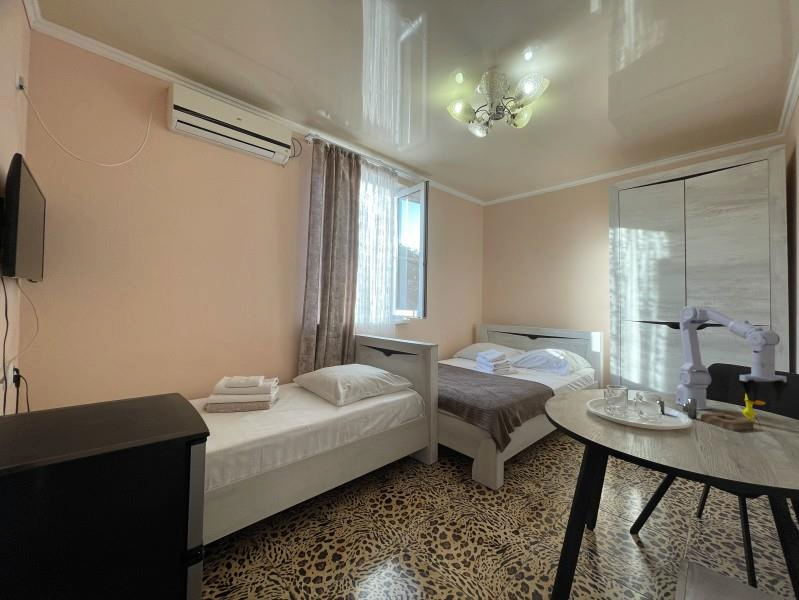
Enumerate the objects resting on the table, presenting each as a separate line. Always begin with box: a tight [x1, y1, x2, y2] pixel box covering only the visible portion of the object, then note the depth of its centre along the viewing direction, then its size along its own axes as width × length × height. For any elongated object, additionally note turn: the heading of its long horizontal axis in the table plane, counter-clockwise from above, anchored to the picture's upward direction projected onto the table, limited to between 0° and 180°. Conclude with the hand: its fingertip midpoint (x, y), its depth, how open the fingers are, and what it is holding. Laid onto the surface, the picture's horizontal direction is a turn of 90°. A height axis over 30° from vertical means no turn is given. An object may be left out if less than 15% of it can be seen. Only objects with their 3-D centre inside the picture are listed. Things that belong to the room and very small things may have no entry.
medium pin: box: [655, 399, 665, 415], centre depth 133 cm, size 3×3×5 cm
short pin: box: [682, 403, 688, 413], centre depth 136 cm, size 3×3×3 cm
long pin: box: [687, 398, 698, 420], centre depth 127 cm, size 3×3×8 cm
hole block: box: [700, 412, 755, 431], centre depth 121 cm, size 10×10×2 cm
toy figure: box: [739, 392, 766, 425], centre depth 123 cm, size 7×4×12 cm, turn 29°
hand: (762, 401), depth 117 cm, fingers open, 7 cm apart
